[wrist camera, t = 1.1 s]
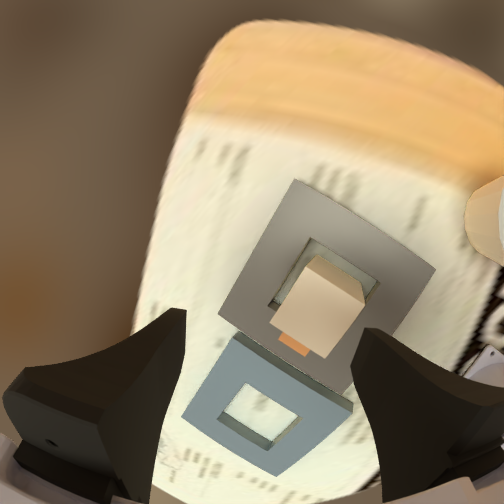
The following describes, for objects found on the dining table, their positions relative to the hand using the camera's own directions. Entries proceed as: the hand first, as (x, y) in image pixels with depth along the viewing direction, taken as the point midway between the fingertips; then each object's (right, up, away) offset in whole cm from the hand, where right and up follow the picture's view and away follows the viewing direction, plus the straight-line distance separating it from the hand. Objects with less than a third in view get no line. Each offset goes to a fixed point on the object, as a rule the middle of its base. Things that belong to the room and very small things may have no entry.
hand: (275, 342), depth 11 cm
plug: (+5, +1, +11) cm, 12 cm away
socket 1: (+5, +1, +11) cm, 12 cm away
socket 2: (0, -11, +13) cm, 18 cm away
